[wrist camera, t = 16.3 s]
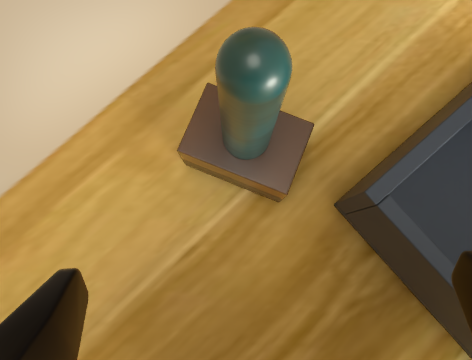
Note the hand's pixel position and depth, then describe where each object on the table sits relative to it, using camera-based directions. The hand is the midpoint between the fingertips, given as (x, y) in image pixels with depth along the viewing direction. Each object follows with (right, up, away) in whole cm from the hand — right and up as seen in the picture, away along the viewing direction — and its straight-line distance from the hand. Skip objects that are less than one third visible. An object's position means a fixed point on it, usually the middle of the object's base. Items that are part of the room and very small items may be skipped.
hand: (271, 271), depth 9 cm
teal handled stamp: (0, +4, +13) cm, 14 cm away
